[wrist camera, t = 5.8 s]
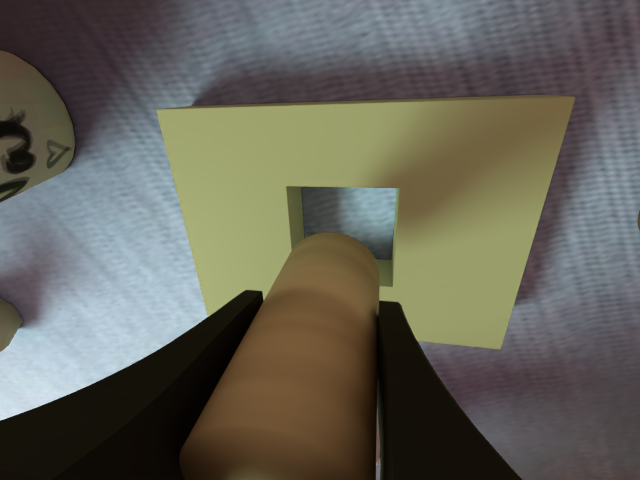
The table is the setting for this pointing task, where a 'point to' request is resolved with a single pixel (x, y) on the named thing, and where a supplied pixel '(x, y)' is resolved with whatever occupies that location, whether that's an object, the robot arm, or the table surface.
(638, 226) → the short peg
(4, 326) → the salt shaker
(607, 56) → the table surface
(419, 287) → the hole board
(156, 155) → the table surface
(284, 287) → the tall peg
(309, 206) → the table surface
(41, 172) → the mug
